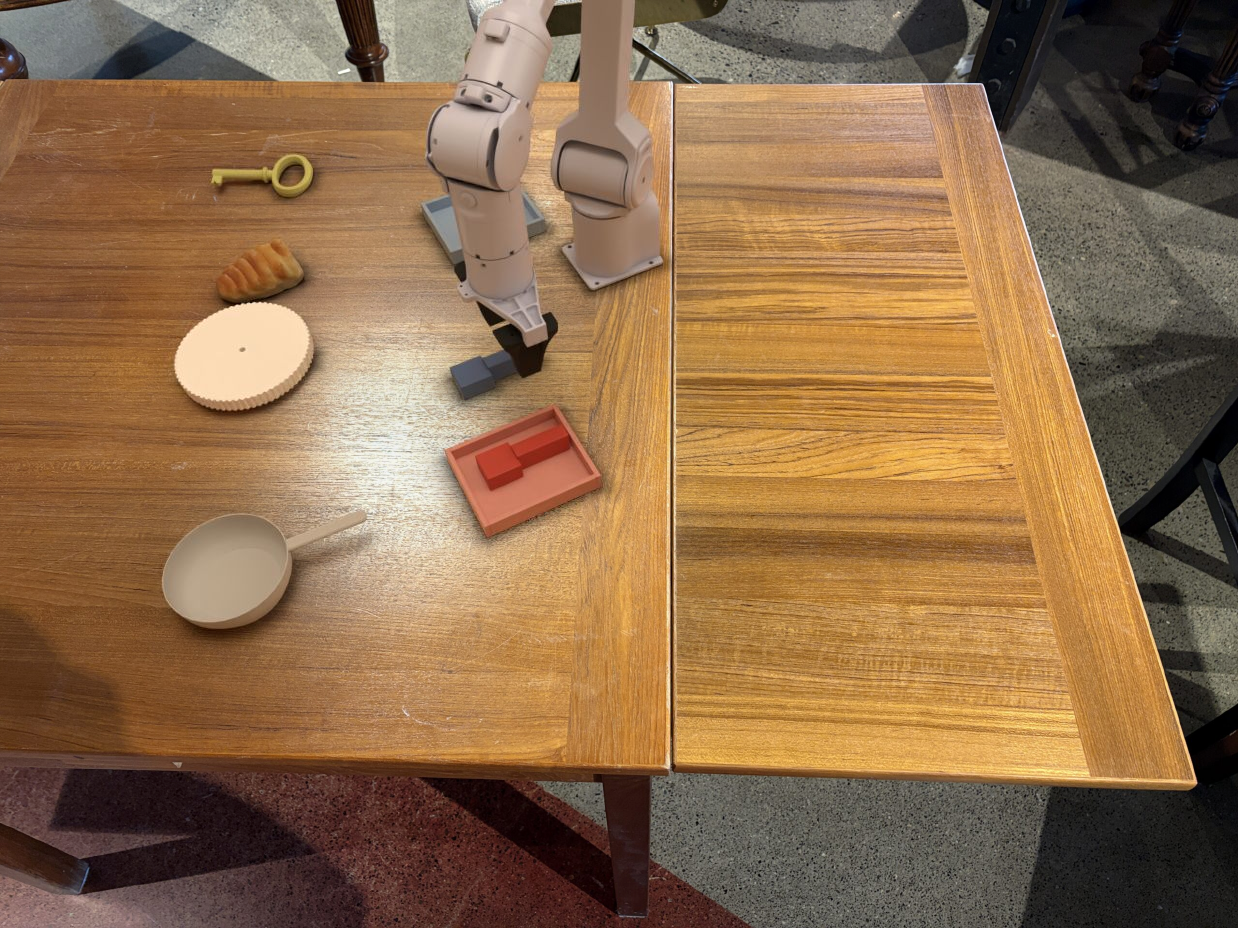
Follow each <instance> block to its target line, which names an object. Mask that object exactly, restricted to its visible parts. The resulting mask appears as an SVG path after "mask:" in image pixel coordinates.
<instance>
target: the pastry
mask: <svg viewBox="0 0 1238 928" xmlns="http://www.w3.org/2000/svg"><path fill="white" fill-rule="evenodd" d="M304 274H305V273H304V270H303V269H302V266H301V265H300V263H299V262H298V261H297V260H296V258H295V257H294V256H293V254H292V252H291V250H290V249H289V247H288V246H287V244H286V243H285V242H284V241H283V240H282V239H279V238H273V239H272V240H271V241H270V242H266V243H264V244H262V245H257V246H255V247H254V248H250V249H248V250H245V251H244V252H243V254H242V255H241V256H240V257H239V258H238V259H236V261H235V262H233V263H232V264H229V266H227V268H226V269H225V270H223V271H222V273H221V275H220V276H218V278H217V281H216V290H217V293H218V295H219V296H220V298H222V299H224V300H226V301H228V302H231V303H241V304H243V303H245V302H247V303H250V302H251V301H253V300H262V299H266V298H269V297H271V296H275V295H276V294H280V293H282V292H283V291H285V290H286V289H291V288H294V287H295V286H297V285H298V284H299V283H301V281H302V280H303V278H304Z"/></svg>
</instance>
